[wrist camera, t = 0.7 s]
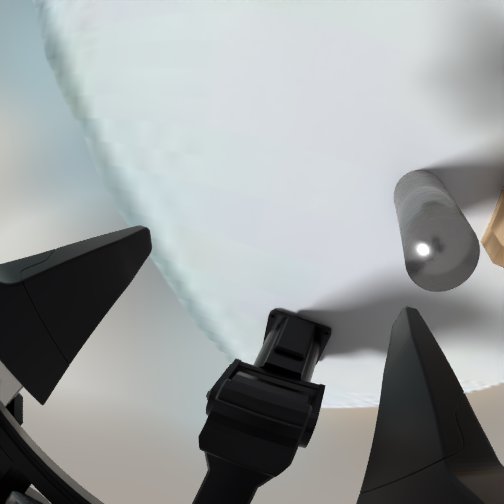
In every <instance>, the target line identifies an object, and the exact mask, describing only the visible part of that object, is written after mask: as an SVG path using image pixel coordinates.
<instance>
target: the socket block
mask: <svg viewBox="0 0 504 504" xmlns="http://www.w3.org/2000/svg"><path fill="white" fill-rule="evenodd" d="M481 243H482V244H483V246H484V248H485V250H486V252H487V253H488V255H489V257H490V259H491V261H492V263H494V264H496V265H499V266H501V267H503V268H504V187H503V190H502V193H501V195H500V198H499V201H498V203H497V206H496V209H495V211H494V214H493V216H492V218H491V221H490V223H489V225H488V228H487V230H486V232H485V234H484V237H483V239H482V241H481Z"/></svg>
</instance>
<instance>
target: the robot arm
mask: <svg viewBox="0 0 504 504" xmlns="http://www.w3.org/2000/svg"><path fill="white" fill-rule="evenodd" d="M151 250H152V243H151V235H150V230H149V229H148V228H147V227H144V226H140V225H139V226H134V227H131V228H127V229H123V230H119V231H115V232H112V233H108V234H104V235H101V236H97V237H94V238H90V239H87V240H83V241H80V242H77V243H73V244H70V245H66V246H63V247H60V248H57V249H53V250H50V251H46V252H43V253H40V254H37V255H33V256H29V257H26V258H22V259H18V260H14V261H11V262H7V263H4V264H0V504H50V503H49V502H48V501H50V502H51V503H52V504H104V503H102V502H101V501H100V500H98V499H97V498H96V497H94V496H93V495H92V494H90V493H89V492H88V491H87V490H85V489H84V488H83V487H82V486H80V485H79V484H78V483H77V482H76V481H74V480H73V479H72V478H71V477H70V476H69V475H67V474H66V473H65V472H64V471H63V470H62V469H61V468H60V467H59V466H58V465H57V464H56V463H55V462H53V461H52V460H51V459H50V458H49V457H48V456H47V455H46V454H45V453H44V452H43V451H42V450H41V448H40V447H38V445H37V444H36V443H35V442H34V441H33V440H32V439H31V438H30V437H29V435H28V434H27V433H26V432H25V431H24V430H23V428H22V427H21V424H22V423H23V397H22V395H21V394H20V393H19V391H20V390H21V389H22V388H23V387H24V388H25V389H26V390H27V391H28V392H29V393H30V394H31V395H32V396H33V397H34V398H35V399H36V400H37V401H38V402H39V403H40V404H41V405H44V404H45V402H46V401H47V399H48V397H49V396H50V394H51V393H52V391H53V390H54V388H55V386H56V385H57V383H58V382H59V380H60V379H61V377H62V376H63V374H64V373H65V371H66V370H67V368H68V367H69V364H71V362H72V361H73V359H74V358H75V356H76V355H77V353H78V352H79V351H80V349H81V348H82V346H83V345H84V344H85V342H86V341H87V339H88V338H89V337H90V335H91V334H92V332H93V331H94V330H95V328H96V327H97V326H98V324H99V323H100V322H101V320H102V319H103V318H104V316H105V315H106V314H107V312H108V311H109V309H110V308H111V307H112V306H113V305H114V303H115V302H116V301H117V299H118V298H119V297H120V296H121V294H122V293H123V292H124V290H125V289H126V288H127V287H128V285H129V284H130V283H131V281H132V280H133V278H134V277H135V275H136V274H137V272H138V270H139V269H140V268H141V266H142V265H143V263H144V262H145V260H146V259H147V257H148V256H149V254H150V253H151ZM325 331H327V332H325ZM331 332H332V330H331V328H329V327H326V326H323V325H320V324H317V323H313V322H310V321H307V320H304V319H301V318H298V317H294V316H291V315H288V314H285V313H282V312H279V311H276V310H272V311H271V312H270V314H269V317H268V322H267V327H266V332H265V337H264V342H263V346H262V348H261V350H260V353H259V355H258V357H257V359H256V361H255V363H254V365H251V364H248V363H245V362H242V361H241V360H239V359H235V360H234V362H233V363H232V364H230V365H229V367H228V368H227V369H226V371H225V372H224V373H223V375H222V376H221V377H220V378H219V380H218V381H217V382H216V383H215V385H214V386H213V388H212V389H211V390H210V391H208V393H207V395H206V397H207V400H208V403H207V406H206V414H207V415H208V418H207V421H206V423H205V425H204V427H203V429H202V431H201V433H200V435H199V448H200V450H202V451H204V452H205V457H206V461H207V467H208V471H207V474H206V476H205V478H204V480H203V483H202V485H201V487H200V489H199V491H198V493H197V495H196V497H195V499H194V501H193V503H192V504H250V503H251V501H252V499H253V497H254V495H255V493H256V491H257V488H258V487H260V486H262V485H263V484H265V483H266V482H268V481H269V480H271V479H272V478H274V477H276V476H278V475H279V474H280V473H282V472H283V471H284V470H285V469H286V468H288V467H289V466H290V464H291V463H292V461H293V458H294V456H295V453H296V451H297V449H298V446H299V447H303V448H306V446H307V445H308V443H309V441H310V439H311V436H312V434H313V431H314V429H315V426H316V422H317V419H318V416H319V412H320V407H321V403H322V399H323V394H324V390H325V385H322V384H320V385H318V384H315V383H311V382H310V381H311V378H312V375H313V371H314V368H315V365H316V364H317V362H318V360H319V358H320V356H321V354H322V352H323V350H324V348H325V346H326V344H327V342H328V340H329V338H330V335H331ZM463 393H464V391H463V389H462V387H461V385H460V383H459V381H458V379H457V377H456V375H455V373H454V372H453V370H452V368H451V366H450V364H449V362H448V361H447V359H446V357H445V355H444V353H443V352H442V350H441V348H440V346H439V345H438V343H437V341H436V340H435V338H434V336H433V335H432V333H431V331H430V330H429V328H428V326H427V325H426V323H425V321H424V320H423V318H422V317H421V315H420V314H419V312H418V311H417V309H415V308H411V307H408V306H406V307H404V308H403V310H402V311H401V313H400V315H399V316H398V318H397V320H396V321H395V323H394V325H393V328H392V332H391V338H390V343H389V348H388V353H387V358H386V363H385V368H384V373H383V381H382V389H381V397H380V404H379V410H378V416H377V422H376V428H375V433H374V438H373V443H372V448H371V452H370V456H369V461H368V465H367V469H366V473H365V477H364V480H363V484H362V487H361V491H360V494H359V497H358V500H357V504H504V466H503V465H502V464H501V463H500V461H499V460H498V458H497V456H496V454H495V452H494V450H493V448H492V446H491V444H490V442H489V440H488V438H487V436H486V434H485V433H484V431H483V429H482V427H481V425H480V423H479V421H478V419H477V417H476V415H475V413H474V411H473V409H472V407H471V405H470V403H469V401H468V399H467V397H466V395H465V394H463ZM31 484H33V485H34V486H35V488H36V489H37V490H39V492H40V493H41V494H42V495H44V497H45V498H46V499H45V498H44V497H43V496H42V495H41V494H40V493H38V492H37V491H35V490H33V489H32V488H31V487H30V485H31ZM47 500H48V501H47Z"/></svg>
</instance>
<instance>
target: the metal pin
mask: <svg viewBox="0 0 504 504" xmlns="http://www.w3.org/2000/svg"><path fill="white" fill-rule="evenodd" d="M394 203H395V207H396V212H397V217H398V222H399V227H400V233H401V239H402V245H403V251H404V258H405V265H406V270H407V272H408V274H409V276H410V278H411V279H412V281H413V282H414V283H415V284H417V285H418V286H419V287H421V288H423V289H426V290H429V291H435V292H441V291H447V290H450V289H453V288H455V287H457V286H459V285H461V284H462V283H463V282H465V281H466V280H467V279H468V278H469V277H470V276H471V274H472V273H473V271H474V270H475V268H476V266H477V263H478V260H479V254H480V246H479V241H478V238H477V236H476V234H475V232H474V231H473V229H472V227H471V226H470V224H469V223H468V221H467V219H466V218H465V216H464V215H463V213H462V212H461V210H460V209H459V207H458V206H457V204H456V203H455V201H454V200H453V198H452V197H451V196H450V194H449V193H448V191H447V190H446V189H445V187H444V186H443V185H442V183H441V182H440V181H439V179H438V178H437V177H436V176H435V175H433V174H432V173H429V172H427V171H422V170H416V171H412V172H409V173H407V174H406V175H404V176H403V177H402V178H401V179H400V180H399V182H398V183H397V185H396V187H395V191H394Z"/></svg>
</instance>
